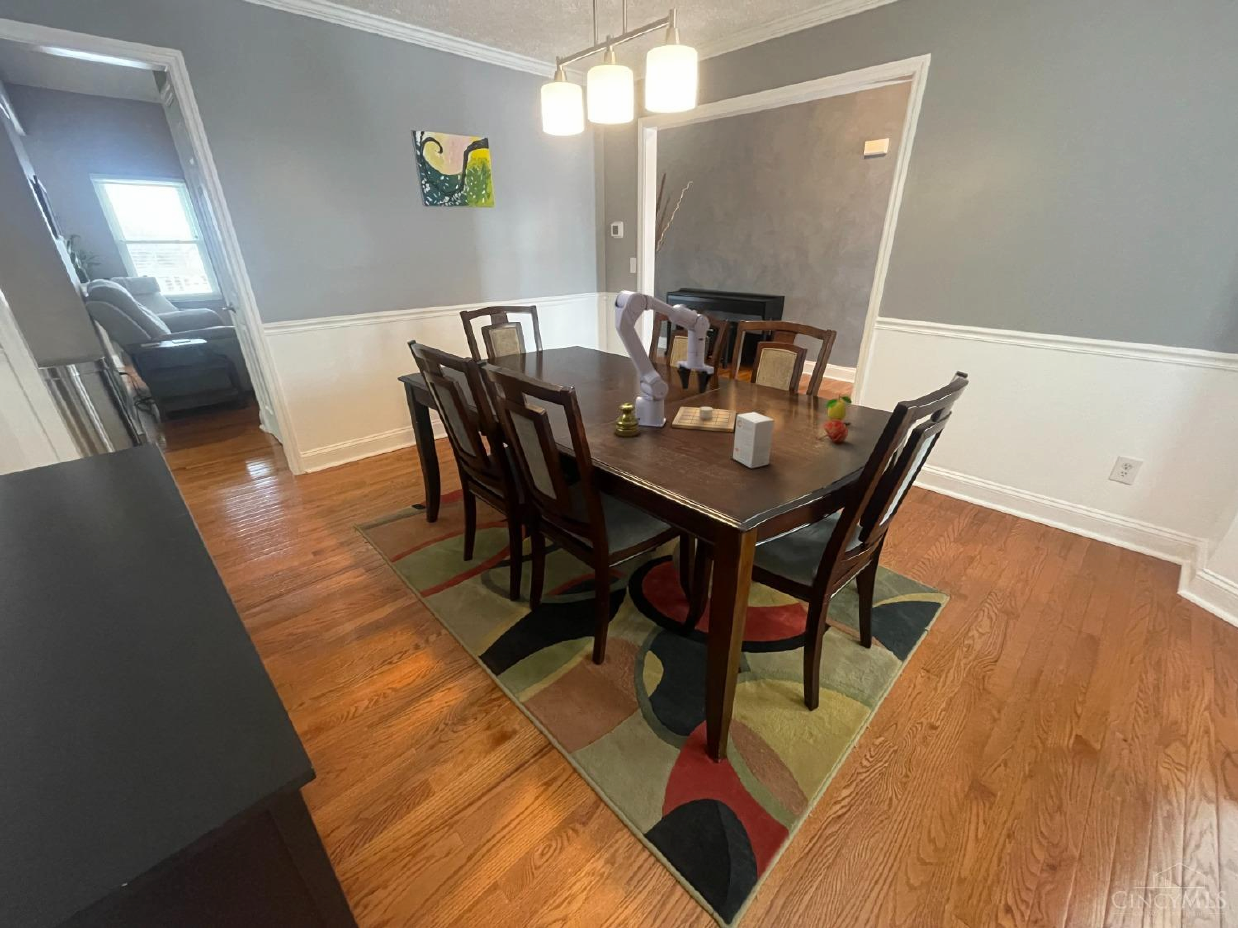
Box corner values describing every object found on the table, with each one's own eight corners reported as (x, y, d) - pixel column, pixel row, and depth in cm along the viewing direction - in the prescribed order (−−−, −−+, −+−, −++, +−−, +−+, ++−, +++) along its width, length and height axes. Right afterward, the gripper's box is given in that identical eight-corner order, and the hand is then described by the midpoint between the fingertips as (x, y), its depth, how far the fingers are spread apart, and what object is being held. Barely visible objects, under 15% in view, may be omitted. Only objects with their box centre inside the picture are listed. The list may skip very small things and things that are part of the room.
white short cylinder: (698, 418, 168) (698, 409, 166) (699, 414, 171) (700, 406, 170) (711, 419, 167) (712, 410, 165) (712, 415, 170) (713, 407, 169)
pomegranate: (822, 451, 149) (854, 437, 143) (810, 430, 149) (841, 415, 143) (827, 446, 155) (858, 432, 148) (816, 426, 155) (846, 411, 149)
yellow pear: (848, 422, 166) (853, 393, 162) (842, 426, 162) (848, 397, 158) (828, 418, 170) (833, 390, 166) (822, 422, 166) (827, 394, 162)
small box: (769, 464, 134) (774, 419, 129) (750, 469, 132) (755, 423, 127) (749, 454, 141) (754, 411, 136) (732, 458, 139) (736, 414, 133)
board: (671, 427, 163) (671, 423, 163) (680, 409, 181) (680, 406, 180) (733, 432, 158) (733, 428, 158) (736, 413, 176) (736, 410, 175)
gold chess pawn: (612, 431, 160) (611, 401, 156) (632, 428, 163) (632, 399, 159) (621, 438, 154) (621, 408, 150) (642, 435, 157) (643, 404, 153)
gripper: (720, 352, 161) (717, 392, 167) (687, 346, 171) (685, 384, 177) (706, 355, 157) (704, 396, 163) (673, 349, 167) (672, 388, 173)
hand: (693, 390), depth 169 cm, fingers open, 7 cm apart
